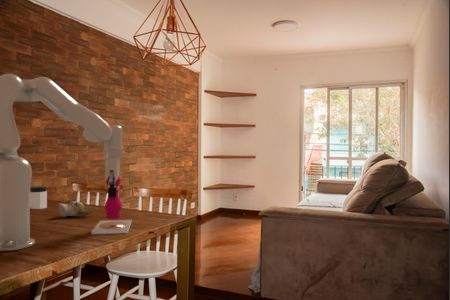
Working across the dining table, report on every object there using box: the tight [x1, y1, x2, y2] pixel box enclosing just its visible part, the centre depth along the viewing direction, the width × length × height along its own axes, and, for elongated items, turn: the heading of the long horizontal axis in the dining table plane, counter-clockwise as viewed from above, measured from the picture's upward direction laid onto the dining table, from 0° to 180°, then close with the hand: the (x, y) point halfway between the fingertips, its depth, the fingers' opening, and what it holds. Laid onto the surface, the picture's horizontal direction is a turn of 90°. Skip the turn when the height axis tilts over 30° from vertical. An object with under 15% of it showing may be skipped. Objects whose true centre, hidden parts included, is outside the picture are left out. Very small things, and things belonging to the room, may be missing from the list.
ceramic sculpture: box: [58, 199, 93, 218], centre depth 172 cm, size 11×9×15 cm
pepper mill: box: [104, 173, 123, 220], centre depth 149 cm, size 7×7×20 cm
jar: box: [30, 185, 48, 210], centre depth 193 cm, size 9×8×12 cm
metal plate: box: [90, 219, 133, 236], centre depth 149 cm, size 20×14×1 cm
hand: (113, 195), depth 149 cm, fingers closed on pepper mill, 5 cm apart
